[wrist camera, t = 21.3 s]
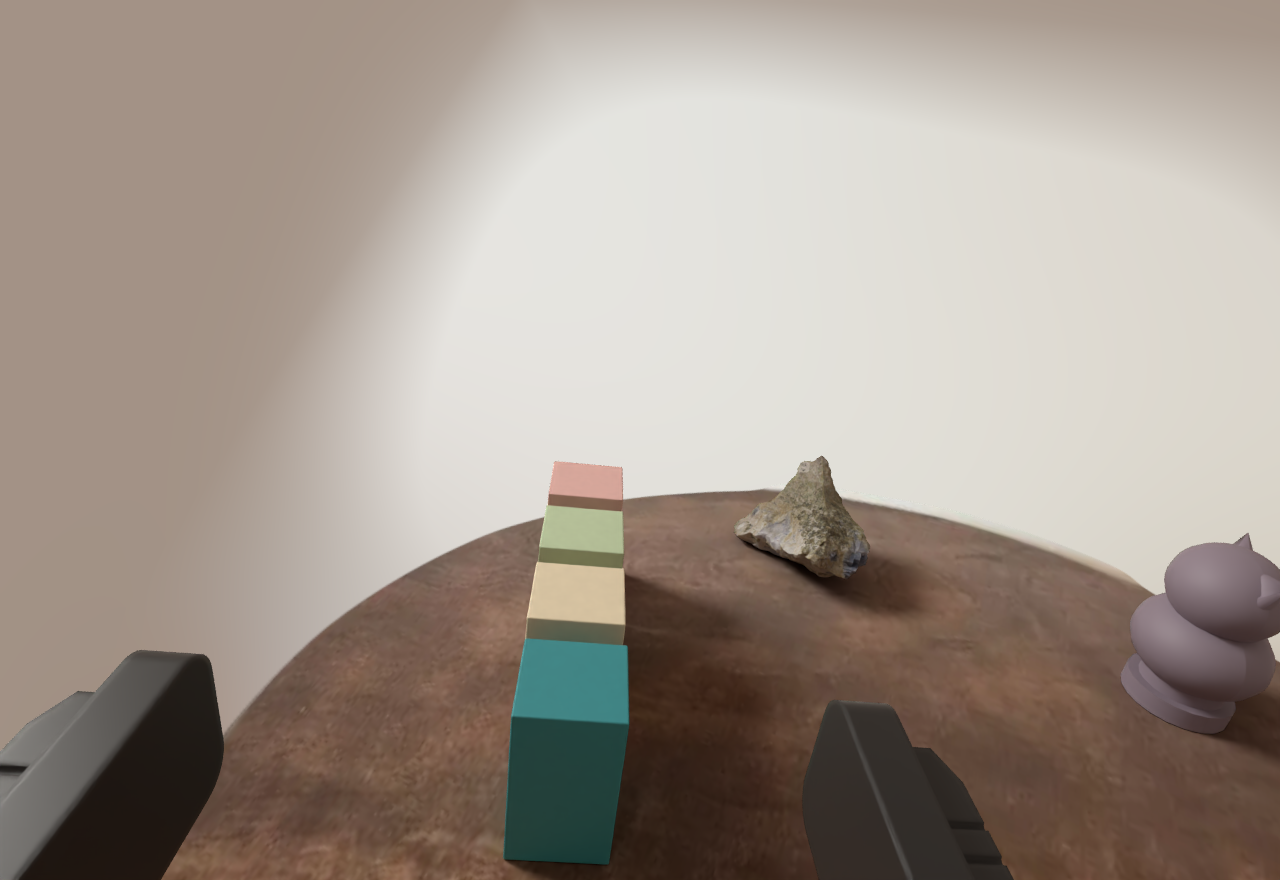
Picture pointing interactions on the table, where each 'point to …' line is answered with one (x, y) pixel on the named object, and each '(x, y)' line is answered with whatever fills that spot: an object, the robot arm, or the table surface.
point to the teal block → (566, 751)
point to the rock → (808, 525)
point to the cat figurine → (1205, 636)
